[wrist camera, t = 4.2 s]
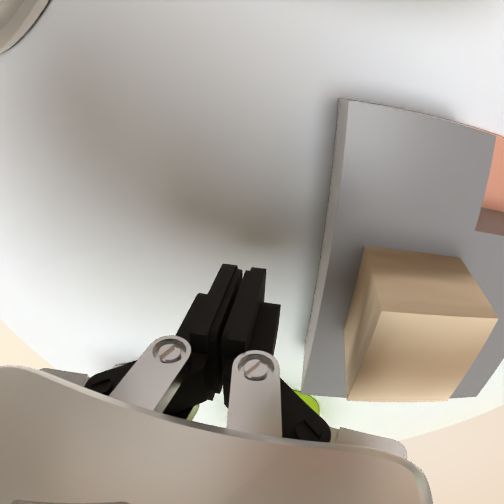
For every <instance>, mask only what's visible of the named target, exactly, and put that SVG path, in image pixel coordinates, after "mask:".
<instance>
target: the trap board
mask: <svg viewBox="0 0 504 504" xmlns="http://www.w3.org/2000/svg"><path fill="white" fill-rule="evenodd" d="M364 246H374V247H382V248H390V249H398V250H406V251H413V252H421V253H429V254H436V255H444V256H451V257H459V258H461V260H462V261H463V263H464V264H465V266H466V267H467V269H468V270H469V272H470V273H471V275H472V276H473V278H474V279H475V281H476V282H477V284H478V285H479V287H480V288H481V290H482V292H483V293H484V295H485V296H486V298H487V300H488V301H489V303H490V305H491V306H492V308H493V310H494V312H495V313H496V315H497V317H498V318H499V319H498V321H497V322H496V324H495V326H494V328H493V330H492V332H491V334H490V335H489V337H488V339H487V341H486V342H485V344H484V346H483V347H482V349H481V351H480V352H479V354H478V356H477V357H476V359H475V361H474V362H473V364H472V365H471V367H470V369H469V370H468V372H467V373H466V375H465V376H464V378H463V379H462V381H461V382H460V384H459V385H458V386H457V388H456V389H455V391H454V392H453V393H452V395H451V396H450V398H463V397H476V396H477V395H478V394H479V392H480V391H481V390H482V388H483V387H484V386H485V384H486V383H487V381H488V380H489V379H490V377H491V376H492V374H493V373H494V372H495V370H496V369H497V367H498V366H499V364H500V363H501V361H502V360H503V358H504V137H502V136H499V135H496V134H493V133H490V132H487V131H484V130H481V129H478V128H475V127H471V126H468V125H465V124H461V123H458V122H454V121H451V120H447V119H443V118H439V117H435V116H431V115H427V114H423V113H419V112H414V111H410V110H405V109H400V108H395V107H390V106H384V105H379V104H373V103H367V102H361V101H354V100H347V99H340V98H339V102H338V115H337V127H336V138H335V148H334V158H333V167H332V176H331V185H330V193H329V201H328V209H327V217H326V224H325V231H324V238H323V245H322V251H321V258H320V264H319V270H318V277H317V283H316V288H315V294H314V300H313V306H312V311H311V316H310V322H309V327H308V332H307V337H306V342H305V350H304V363H303V374H302V385H301V394H307V395H318V396H329V397H344V398H347V390H346V362H345V343H344V327H345V324H346V320H347V316H348V313H349V309H350V305H351V301H352V297H353V293H354V289H355V285H356V281H357V277H358V273H359V269H360V264H361V260H362V255H363V251H364Z"/></svg>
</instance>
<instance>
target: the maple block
mask: <svg viewBox="0 0 504 504" xmlns="http://www.w3.org/2000/svg"><path fill="white" fill-rule="evenodd" d="M498 319H499V318H498V317H497V315H496V313H495V312H494V310H493V308H492V306H491V305H490V303H489V301H488V300H487V298H486V296H485V295H484V293H483V292H482V290H481V288H480V287H479V285H478V284H477V282H476V281H475V279H474V278H473V276H472V275H471V273H470V272H469V270H468V269H467V267H466V266H465V264H464V263H463V261H462V260H461V258H459V257H451V256H444V255H436V254H429V253H421V252H413V251H406V250H398V249H390V248H382V247H374V246H364V251H363V255H362V260H361V264H360V269H359V273H358V277H357V281H356V285H355V289H354V293H353V297H352V301H351V305H350V309H349V313H348V316H347V320H346V324H345V327H344V343H345V362H346V390H347V400H348V401H369V402H434V401H447V400H448V399H449V398H450V396H451V395H452V393H453V392H454V391H455V389H456V388H457V386H458V385H459V384H460V382H461V381H462V379H463V378H464V376H465V375H466V373H467V372H468V370H469V369H470V367H471V365H472V364H473V362H474V361H475V359H476V357H477V356H478V354H479V352H480V351H481V349H482V347H483V346H484V344H485V342H486V341H487V339H488V337H489V335H490V334H491V332H492V330H493V328H494V326H495V324H496V322H497V321H498Z"/></svg>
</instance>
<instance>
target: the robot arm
mask: <svg viewBox="0 0 504 504" xmlns="http://www.w3.org/2000/svg"><path fill="white" fill-rule="evenodd" d="M48 1H49V0H0V53H2V52H5V51H6V50H7V49H9V48H10V47H12V46H13V45H14V44H15V43H16V42H17V41H18V40H19V39H20V38H21V37H22V36H23V35H24V34H25V33H26V32H27V31H28V29H29V28H30V27H31V26H32V25H33V23H34V22H35V21H36V19H37V18H38V16H39V15H40V13H41V12H42V11H43V9H44V8H45V6H46V5H47V3H48ZM265 280H266V269H262V268H254V267H252V268H251V271H248V270H246V271H245V274H244V276H243V279H242V270H240V269H238V267H237V265H230V264H223V265H222V266H221V268H220V270H219V272H218V274H217V276H216V278H215V280H214V282H213V284H212V286H211V289H210V291H209V293H208V294H202V293H199V294H197V296H196V298H195V300H194V301H193V303H192V305H191V307H190V309H189V311H188V313H187V315H186V317H185V318H184V320H183V322H182V324H181V326H180V328H179V330H178V332H177V334H176V336H174V335H171V336H163V337H160V338H158V339H156V340H155V341H153V342H152V343H151V344H150V346H149V347H148V348H147V349H146V350H145V352H144V353H143V354H142V355H141V357H140V358H139V359H138V360H136V361H133V362H130V363H127V364H124V365H122V366H119V367H116V368H113V369H110V370H107V371H104V372H101V373H98V374H96V375H94V376H92V377H91V378H90V377H89V376H88V374H81V373H74V372H67V371H61V370H55V369H48V368H43V369H40V370H37V369H33V368H29V367H23V366H12V365H7V366H0V504H433V501H432V495H431V491H430V487H429V484H428V481H427V478H426V477H425V475H424V473H423V472H422V470H421V469H419V467H418V466H416V465H415V464H413V463H412V462H410V461H408V460H407V451H406V449H405V447H404V446H403V445H402V444H401V443H400V442H398V441H396V440H393V439H389V438H384V437H379V436H375V435H371V434H366V433H362V432H358V431H354V430H350V429H346V428H342V427H340V429H335V428H331V427H329V426H328V424H327V423H326V422H325V421H324V420H323V419H322V418H321V417H320V416H319V415H318V414H317V413H316V412H315V411H314V410H313V409H312V408H311V407H310V406H309V405H308V404H306V403H305V402H304V401H303V400H302V399H301V398H300V397H299V396H298V395H297V394H296V393H295V392H294V391H293V390H292V389H291V388H290V387H289V386H288V385H287V384H286V383H285V382H284V381H283V380H282V379H281V378H280V368H279V364H278V361H277V360H276V359H275V357H273V355H274V349H275V344H276V338H277V331H278V324H279V316H280V307H281V305H280V304H272V303H264V294H265ZM222 386H223V393H224V404H225V405H226V407H227V408H228V419H227V429H226V428H221V427H216V426H212V425H207V424H203V423H198V422H194V421H192V420H193V418H194V416H195V414H196V413H197V411H198V408H199V404H200V403H202V402H204V401H206V400H212V401H213V398H214V395H215V393H218V394H220V392H221V389H222Z"/></svg>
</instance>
